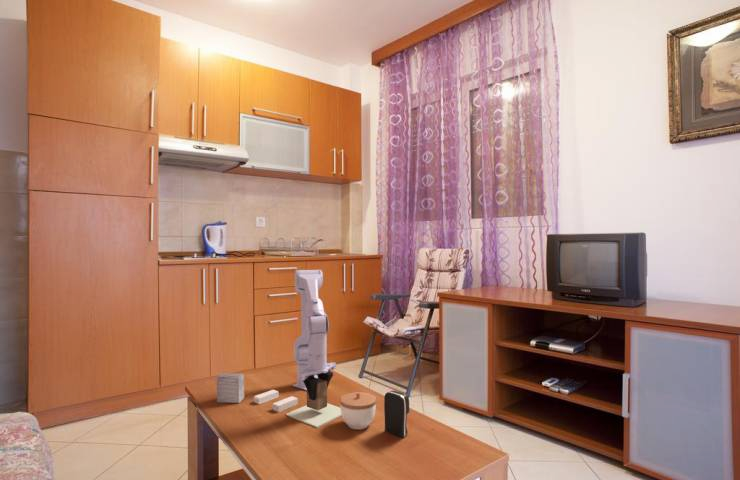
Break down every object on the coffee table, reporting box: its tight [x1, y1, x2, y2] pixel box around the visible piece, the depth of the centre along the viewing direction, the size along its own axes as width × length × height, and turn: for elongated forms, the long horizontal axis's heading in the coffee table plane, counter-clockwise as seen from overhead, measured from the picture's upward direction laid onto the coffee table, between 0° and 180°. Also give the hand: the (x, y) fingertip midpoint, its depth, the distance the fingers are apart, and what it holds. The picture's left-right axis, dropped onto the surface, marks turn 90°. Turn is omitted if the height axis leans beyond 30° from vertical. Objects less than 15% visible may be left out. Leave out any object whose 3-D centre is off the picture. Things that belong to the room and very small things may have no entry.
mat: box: [285, 402, 342, 429], centre depth 128 cm, size 14×14×1 cm
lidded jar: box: [339, 391, 377, 430], centre depth 121 cm, size 11×11×9 cm
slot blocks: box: [253, 389, 299, 413], centre depth 137 cm, size 8×13×2 cm, turn 51°
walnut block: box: [306, 378, 328, 410], centre depth 129 cm, size 4×5×8 cm
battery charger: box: [383, 390, 410, 438], centre depth 115 cm, size 7×4×11 cm, turn 49°
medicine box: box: [216, 372, 245, 404], centre depth 139 cm, size 8×4×9 cm, turn 84°
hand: (317, 397), depth 128 cm, fingers closed on walnut block, 4 cm apart
